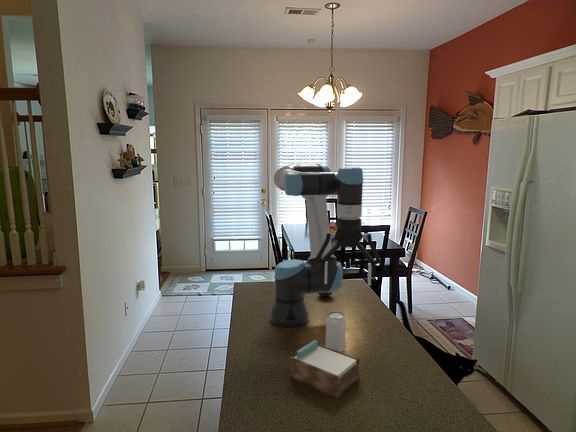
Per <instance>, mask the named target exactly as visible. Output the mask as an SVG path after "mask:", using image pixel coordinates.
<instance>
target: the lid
mask: <svg viewBox="0 0 576 432" xmlns="http://www.w3.org/2000/svg"><path fill="white" fill-rule="evenodd" d="M318 344H319V341H318V340H316V339H313V340H311V341H310V342H309V343H308V344H305V345H304V346H303V347H300V349H298V350H296V355H295V356H293V357H294V358H296V359H299V360H301V361H303V362H306V363H308V364H311V365H313V366H316V367H318V368H321V369H323V370H325V371H328V372H330V373H333V374H335V375H338V379H339V378H340V377H341V376H343V375H344V374H345V373H346V372H347V371H349V370H350V369H351V368H352V367H353V366H354V365H356V363H357V360H355V359H353V358H350V357H347V356H344V355H342V354H339V353H336V352H334V351H331V350H328V349H325V348H323V347H320V346H318Z"/></svg>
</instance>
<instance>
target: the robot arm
mask: <svg viewBox="0 0 576 432" xmlns="http://www.w3.org/2000/svg"><path fill="white" fill-rule="evenodd" d="M273 182H274V185H275V186H276V187H277V189H278V190H281V191H284V193H285V195H286V196H289V197H290V196H293V197H302V198H303V199H304V200H305V205H306V215H307V225H308V226H307V227H308V239H309V251H310V256H309V257H308V258H307V263H305V261H304V260H303V259H286V260H284V261H281V262H279V263H277V265H275V268H274V276H273V279H274V301H273V305H272V308H271V312H270V321H271V323H272V324H274V325H276V326H279V327H284V328H296V327H301V326H303V325H306V324H307V323H308V322H309V311H308V309H307V306H306V302H305V294H318V293H326V292H327V293H329V292H333V293H334V292H337V291H339V290H340V288H341V286H342V283H343V277H344V276H343V275H344V274H343V273H344V272H343V265H342V263H341V262H339V261H338V260H337V257H336V256H335V255H334V254H335V252H337V250H339V249H340V248H341V247H342V248H343V249H344V248H350V249H351V248H353V249H354V248H357V249H358V250H359V251H360V252H361V254H362V255H363V256H364V258H366V260H367V261H368V263H367V265H368V267H367V286H369V287H371V286H372V276H374V275H375V273H376V265H378V264H381V263H382V260H381V257H380V255H379V252H378V251H377V249H376V247H375V245H374V243H373V238H372V237H373V236H372V234H371V233H370V232H366V233H362V219H361V217H362V215H363V212H362V211H363V208H362V207H363V205H362V204H363V188H364V187H363V184H364V172H363V169H362V168H361V167H358V166H357V167H355V166H341V167H339V168H338V170H337V171H335V170H334V171H331V168H330V167H329V166H328V165H327V164H321V163H314V164H313V163H311V164H310V163H309V164H307V163H306V164H304V163H303V164H299V163H298V164H297V163H293V164H292V163H291V164H287V165H284V166H282V167H280V168H279V169H277V170H276V172H275V173H274V177H273ZM328 196H336V197H337V199H336V200H337V202H336V203H337V204H336V216H337V218H336V232H335V233H334V232H330V222H329V220H330V219H329V213H328V203H327V202H328V201H327V198H328ZM334 238H335V239H336V243H335V244H334V245H333V246H332V243H331V241H332V240H333V239H334ZM362 239H364V241H366V242H368V246H369V248H370V249H371V251H372V254H373V256H374V257H372V256H371V255H370V253H369V252H368V251H367V250H366V248H365V247H364V246H363V245H362V243H361V240H362Z"/></svg>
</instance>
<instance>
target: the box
mask: <svg viewBox="0 0 576 432" xmlns="http://www.w3.org/2000/svg"><path fill="white" fill-rule="evenodd" d="M318 346H320V347H323V348H325V349H328V350H331V351H334V352H336V353H339V354H342V355H344V356H347V357H350V358H353V359H355V360H357V363H356V365H354V366H353V367H352V368H351V369H350V370H349V371H347V372H346V373H345V374H344V375H343V376H341V377H340V378H339V379H338V375H335V374H333V373H330V372H328V371H325V370H323V369H321V368H318V367H316V366H313V365H311V364H308V363H306V362H303V361H301V360H299V359H296V358H294V357H295V356H290V358H289V359H290V360H289V361H290V363H289V366H290V369H289V371H290V379H292V380H294V381H297V382H299V383H301V384H304V385H305V386H307V387H309V388H312V389H314V390H316V391H319V392H321V393H323V394H325V395H327V396H329V397H331V398H333V399H335V400H337V399H339V398H340V397H341V396H342V395H344V393H345V392H347V391H348V390H349V389H350V388H351V387H353V385H354V384H355V383H357V382H358V381H359V379H360V358H359V357H356V356H354V355H351V354H348V353H346V352H344V351H343V352H340V351H338V350H335V349H332V348H329V347H327V346H326V345H323V344H320V343H318Z"/></svg>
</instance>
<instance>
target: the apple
mask: <svg viewBox="0 0 576 432" xmlns="http://www.w3.org/2000/svg"><path fill="white" fill-rule="evenodd" d="M333 293H334V292H329V293H327V292H326V293H317V294H318V295H319V296H321V297H324V298H326V297H329V296H332V294H333Z"/></svg>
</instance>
